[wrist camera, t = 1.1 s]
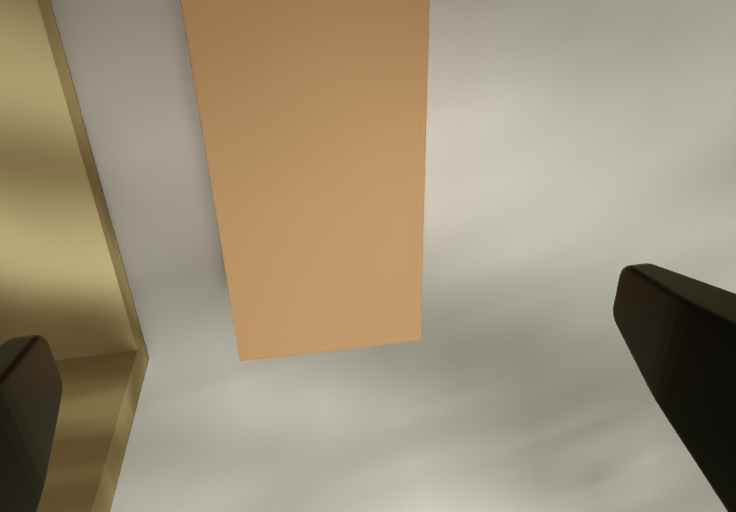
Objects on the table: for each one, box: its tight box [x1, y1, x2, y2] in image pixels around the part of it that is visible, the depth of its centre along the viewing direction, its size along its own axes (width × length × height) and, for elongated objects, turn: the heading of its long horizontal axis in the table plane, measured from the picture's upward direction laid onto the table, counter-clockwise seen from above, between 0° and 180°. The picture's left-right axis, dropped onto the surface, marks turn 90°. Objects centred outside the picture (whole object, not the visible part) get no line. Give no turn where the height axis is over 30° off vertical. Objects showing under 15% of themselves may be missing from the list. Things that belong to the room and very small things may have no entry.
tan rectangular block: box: [181, 0, 430, 361], centre depth 18 cm, size 14×6×4 cm, turn 1°
